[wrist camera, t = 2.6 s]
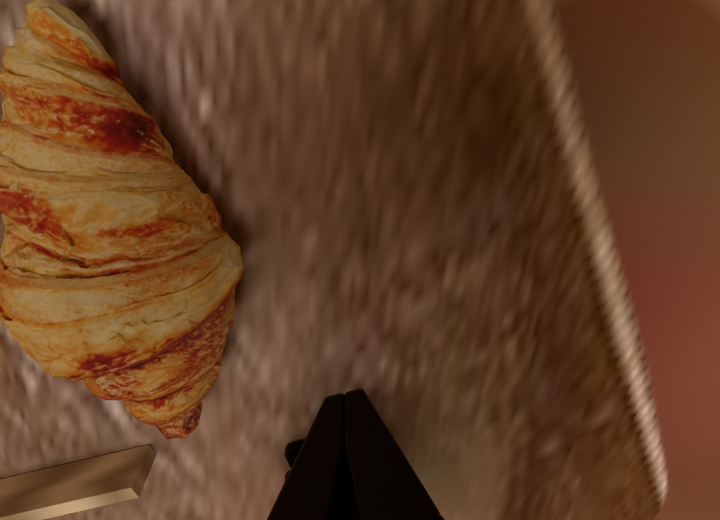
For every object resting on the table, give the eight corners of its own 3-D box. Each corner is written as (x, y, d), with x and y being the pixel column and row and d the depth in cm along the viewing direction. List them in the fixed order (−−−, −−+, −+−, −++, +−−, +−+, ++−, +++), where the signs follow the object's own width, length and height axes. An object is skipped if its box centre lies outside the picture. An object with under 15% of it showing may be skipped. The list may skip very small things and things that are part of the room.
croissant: (46, 16, 19) (-221, 2, 12) (217, -12, 15) (-41, -51, 9) (169, 371, 28) (53, 469, 22) (293, 410, 25) (198, 542, 18)
